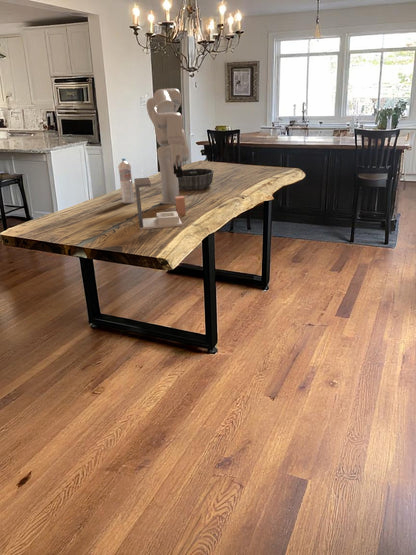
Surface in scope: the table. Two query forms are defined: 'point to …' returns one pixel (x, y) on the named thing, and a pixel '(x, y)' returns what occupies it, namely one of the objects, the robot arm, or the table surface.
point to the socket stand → (162, 220)
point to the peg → (180, 205)
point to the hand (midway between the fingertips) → (178, 175)
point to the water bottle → (126, 182)
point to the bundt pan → (195, 179)
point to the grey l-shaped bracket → (139, 183)
